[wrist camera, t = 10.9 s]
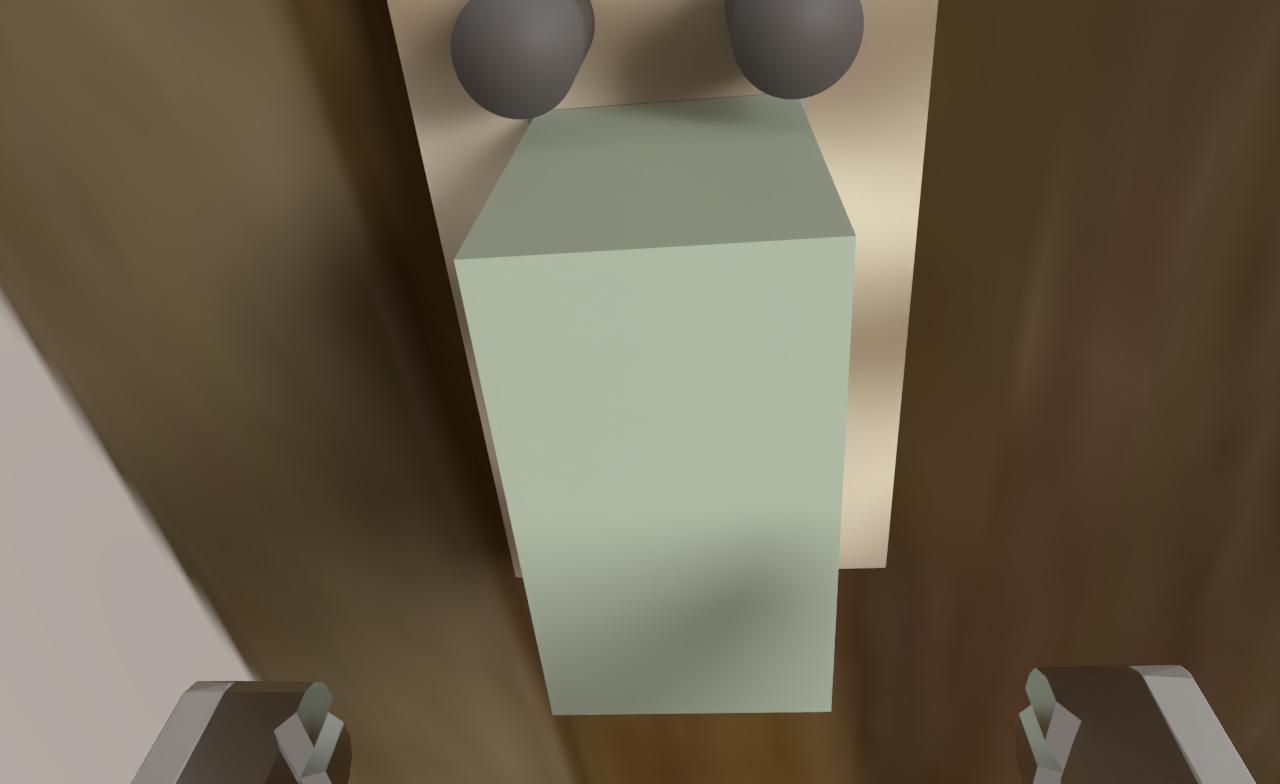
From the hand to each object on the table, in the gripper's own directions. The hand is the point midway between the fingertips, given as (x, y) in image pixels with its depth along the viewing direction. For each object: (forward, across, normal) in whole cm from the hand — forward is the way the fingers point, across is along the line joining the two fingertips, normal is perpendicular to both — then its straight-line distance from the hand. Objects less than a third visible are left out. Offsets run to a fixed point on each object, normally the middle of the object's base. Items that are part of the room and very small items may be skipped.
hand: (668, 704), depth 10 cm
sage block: (+10, 0, 0) cm, 10 cm away
